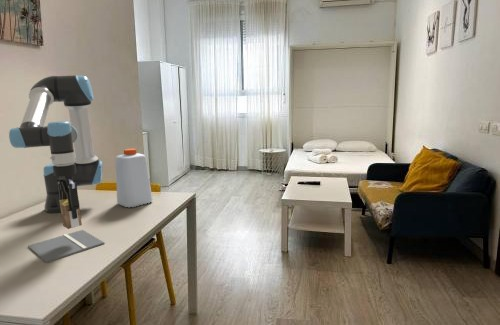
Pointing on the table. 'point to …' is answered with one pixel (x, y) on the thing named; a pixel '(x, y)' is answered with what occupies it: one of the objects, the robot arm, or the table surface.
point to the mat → (65, 245)
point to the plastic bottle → (132, 179)
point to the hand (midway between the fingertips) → (72, 224)
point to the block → (67, 214)
